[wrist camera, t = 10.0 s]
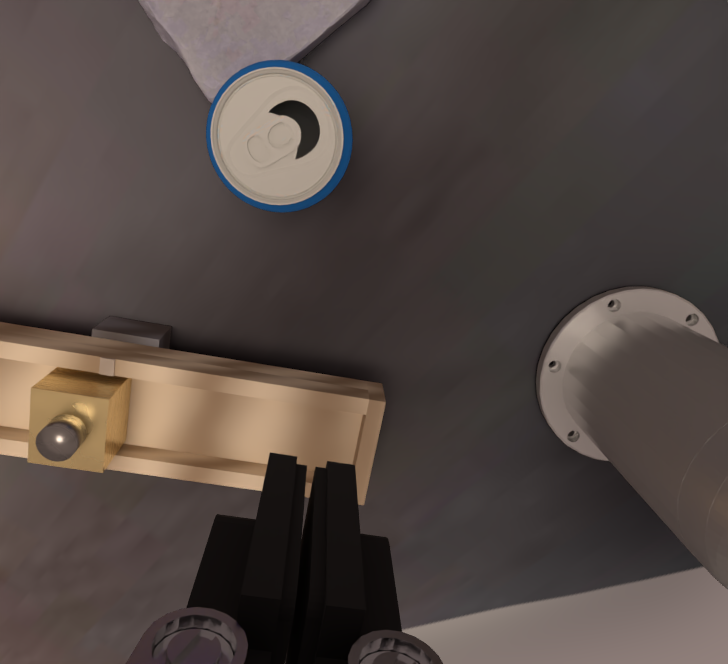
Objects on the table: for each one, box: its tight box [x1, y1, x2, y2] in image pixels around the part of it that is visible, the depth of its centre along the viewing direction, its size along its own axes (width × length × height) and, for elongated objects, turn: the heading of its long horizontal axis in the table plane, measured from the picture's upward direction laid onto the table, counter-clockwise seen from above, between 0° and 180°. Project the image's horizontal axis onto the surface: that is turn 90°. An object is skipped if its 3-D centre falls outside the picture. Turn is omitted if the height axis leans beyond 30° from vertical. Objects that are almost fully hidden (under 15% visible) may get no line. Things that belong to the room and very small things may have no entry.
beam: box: [0, 316, 386, 505], centre depth 38 cm, size 32×8×6 cm, turn 79°
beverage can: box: [206, 60, 353, 212], centre depth 32 cm, size 6×6×12 cm
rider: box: [28, 367, 132, 473], centre depth 34 cm, size 4×4×6 cm
